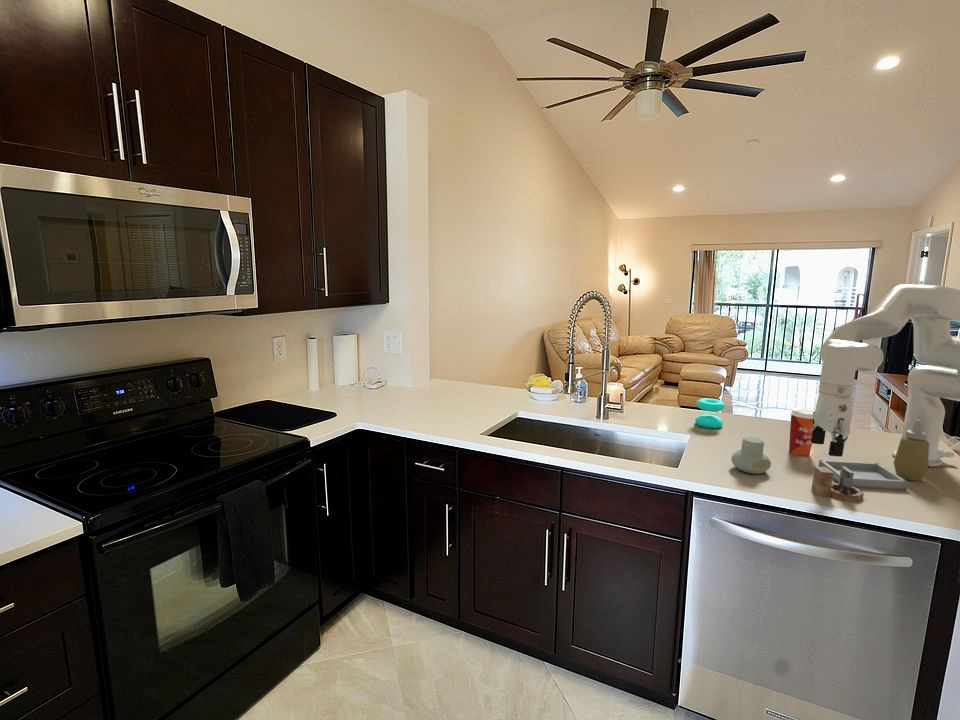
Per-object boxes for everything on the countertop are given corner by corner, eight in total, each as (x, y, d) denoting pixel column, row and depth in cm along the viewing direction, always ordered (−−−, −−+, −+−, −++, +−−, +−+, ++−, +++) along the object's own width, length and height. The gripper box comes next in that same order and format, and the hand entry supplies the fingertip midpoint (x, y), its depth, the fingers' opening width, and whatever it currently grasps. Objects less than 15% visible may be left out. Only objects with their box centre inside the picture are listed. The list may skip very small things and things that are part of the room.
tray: (877, 470, 162) (878, 463, 162) (906, 490, 148) (907, 481, 148) (818, 467, 164) (819, 459, 164) (841, 485, 151) (843, 477, 150)
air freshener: (745, 477, 156) (749, 446, 154) (725, 466, 164) (728, 436, 162) (774, 473, 159) (778, 442, 157) (753, 463, 167) (757, 433, 165)
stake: (845, 491, 147) (849, 466, 146) (853, 498, 143) (857, 473, 142) (833, 490, 148) (837, 466, 146) (842, 497, 143) (845, 472, 142)
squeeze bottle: (910, 471, 161) (919, 416, 158) (933, 482, 153) (944, 424, 150) (884, 472, 161) (894, 416, 158) (906, 483, 153) (917, 424, 150)
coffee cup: (799, 458, 171) (805, 415, 168) (779, 450, 179) (784, 408, 176) (819, 456, 173) (826, 413, 170) (799, 447, 181) (804, 406, 178)
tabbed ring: (851, 489, 149) (855, 466, 147) (868, 502, 141) (871, 477, 140) (808, 486, 150) (811, 463, 149) (822, 499, 142) (825, 475, 141)
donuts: (701, 396, 210) (727, 400, 204) (698, 419, 212) (725, 424, 206) (694, 401, 203) (721, 405, 197) (692, 425, 204) (719, 430, 199)
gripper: (869, 398, 131) (858, 462, 135) (833, 383, 148) (824, 440, 151) (837, 396, 132) (827, 460, 136) (805, 381, 149) (797, 438, 152)
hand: (825, 449), depth 143 cm, fingers open, 9 cm apart
